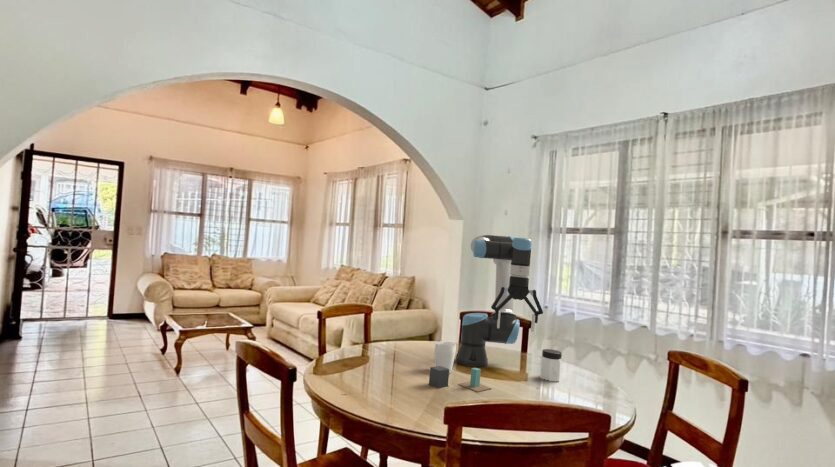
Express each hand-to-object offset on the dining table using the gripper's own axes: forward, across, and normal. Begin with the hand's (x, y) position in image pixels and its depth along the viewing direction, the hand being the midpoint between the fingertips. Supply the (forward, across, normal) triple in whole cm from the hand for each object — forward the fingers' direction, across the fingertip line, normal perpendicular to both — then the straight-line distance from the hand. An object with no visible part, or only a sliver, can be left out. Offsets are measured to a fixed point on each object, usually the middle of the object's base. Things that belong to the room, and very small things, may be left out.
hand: (515, 329), depth 179 cm
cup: (+23, -27, +12) cm, 38 cm away
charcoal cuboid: (+23, -28, -9) cm, 38 cm away
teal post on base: (+23, -14, -5) cm, 28 cm away
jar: (+23, +19, +19) cm, 36 cm away
